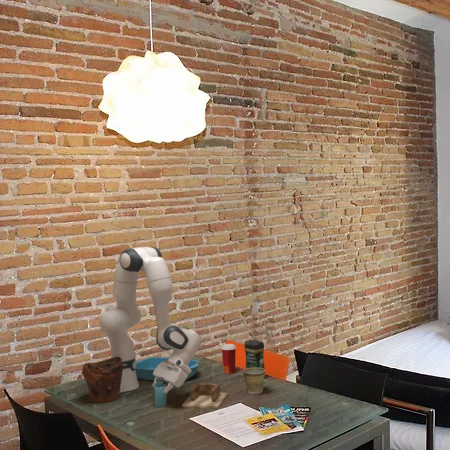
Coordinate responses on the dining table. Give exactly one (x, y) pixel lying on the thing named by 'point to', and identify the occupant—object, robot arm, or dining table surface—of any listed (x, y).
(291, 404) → the dining table surface
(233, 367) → the paper cup
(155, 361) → the casserole dish
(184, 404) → the bottle stand
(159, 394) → the teal bottle
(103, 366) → the case
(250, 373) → the ceramic cup
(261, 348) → the coffee jar
